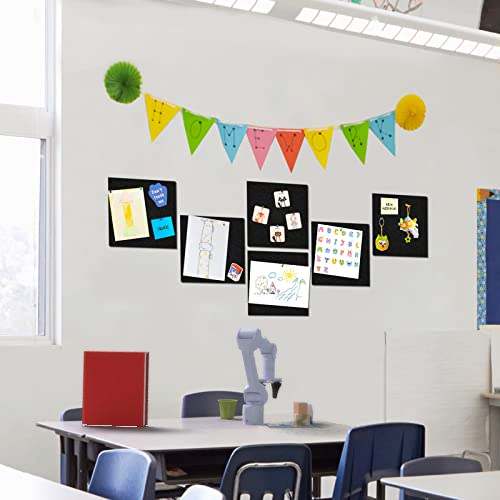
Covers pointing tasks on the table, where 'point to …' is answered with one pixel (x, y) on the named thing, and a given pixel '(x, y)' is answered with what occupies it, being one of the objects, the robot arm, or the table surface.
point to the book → (115, 388)
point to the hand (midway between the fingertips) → (268, 398)
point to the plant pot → (227, 408)
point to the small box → (310, 412)
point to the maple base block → (302, 420)
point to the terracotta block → (300, 408)
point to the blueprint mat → (292, 426)
